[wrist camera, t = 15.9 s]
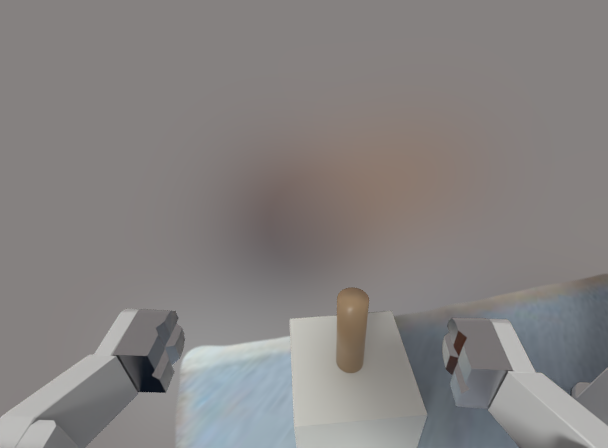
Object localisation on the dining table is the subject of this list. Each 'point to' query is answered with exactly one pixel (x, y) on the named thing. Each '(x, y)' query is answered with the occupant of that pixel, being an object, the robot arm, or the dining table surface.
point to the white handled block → (353, 380)
